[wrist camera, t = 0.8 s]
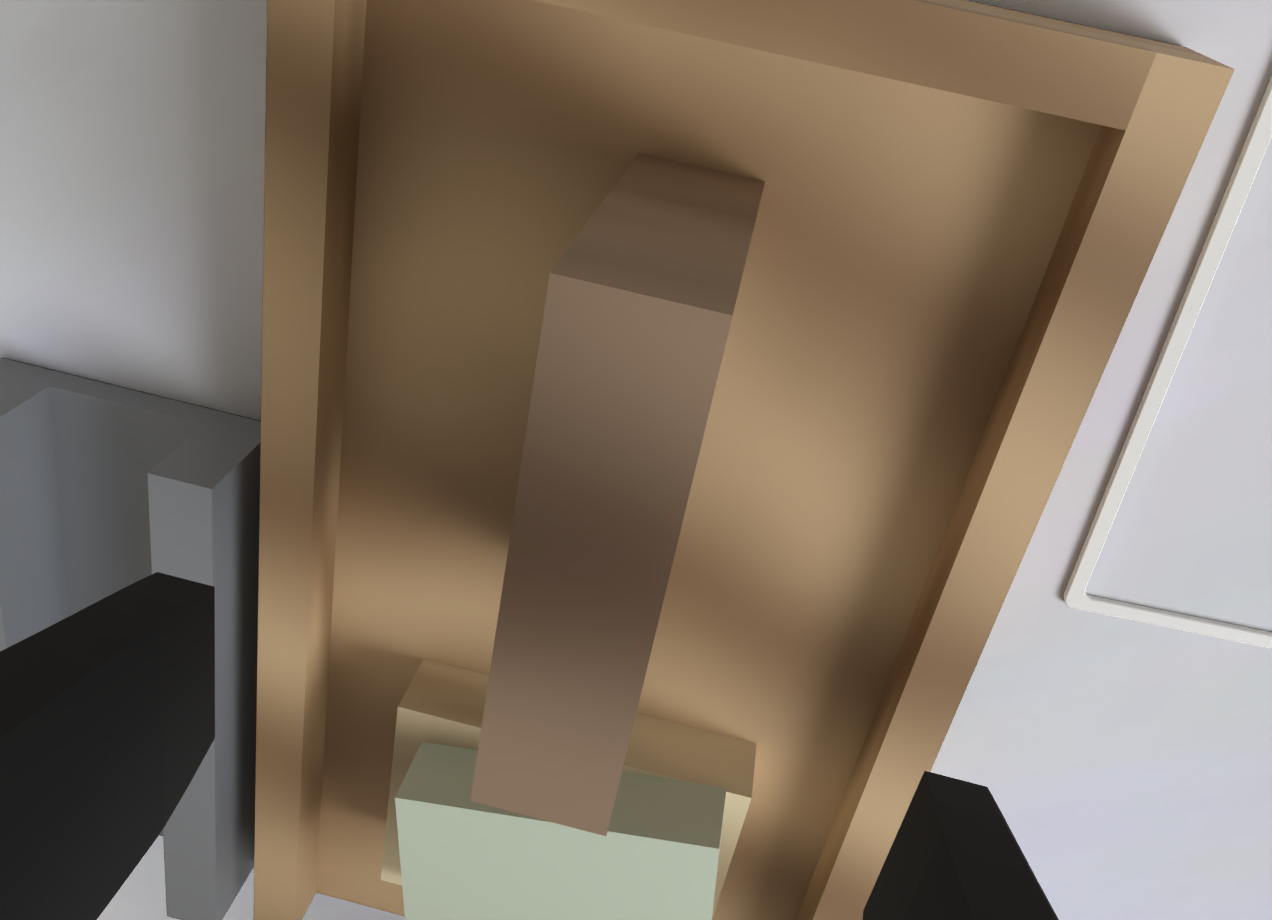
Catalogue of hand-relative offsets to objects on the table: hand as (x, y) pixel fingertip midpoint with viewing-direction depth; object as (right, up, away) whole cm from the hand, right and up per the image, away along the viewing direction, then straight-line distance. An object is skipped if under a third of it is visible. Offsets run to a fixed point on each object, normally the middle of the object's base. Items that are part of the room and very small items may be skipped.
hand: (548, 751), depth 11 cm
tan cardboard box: (+1, +4, +8) cm, 9 cm away
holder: (-10, -1, +14) cm, 17 cm away
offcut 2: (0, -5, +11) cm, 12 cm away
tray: (+1, +1, +11) cm, 11 cm away
